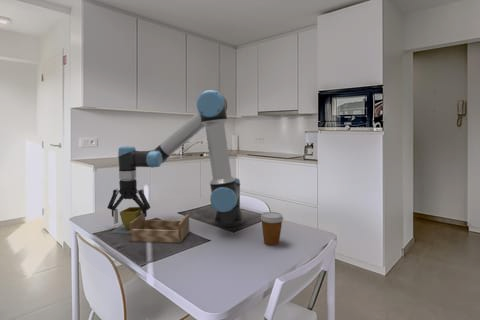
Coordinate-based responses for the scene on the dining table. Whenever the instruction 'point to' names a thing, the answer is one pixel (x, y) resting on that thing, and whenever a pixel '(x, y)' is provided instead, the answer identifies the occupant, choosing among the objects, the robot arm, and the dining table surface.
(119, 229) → the mat
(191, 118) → the robot arm
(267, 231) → the disposable coffee cup
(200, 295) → the dining table surface
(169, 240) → the crate
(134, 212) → the flower pot
